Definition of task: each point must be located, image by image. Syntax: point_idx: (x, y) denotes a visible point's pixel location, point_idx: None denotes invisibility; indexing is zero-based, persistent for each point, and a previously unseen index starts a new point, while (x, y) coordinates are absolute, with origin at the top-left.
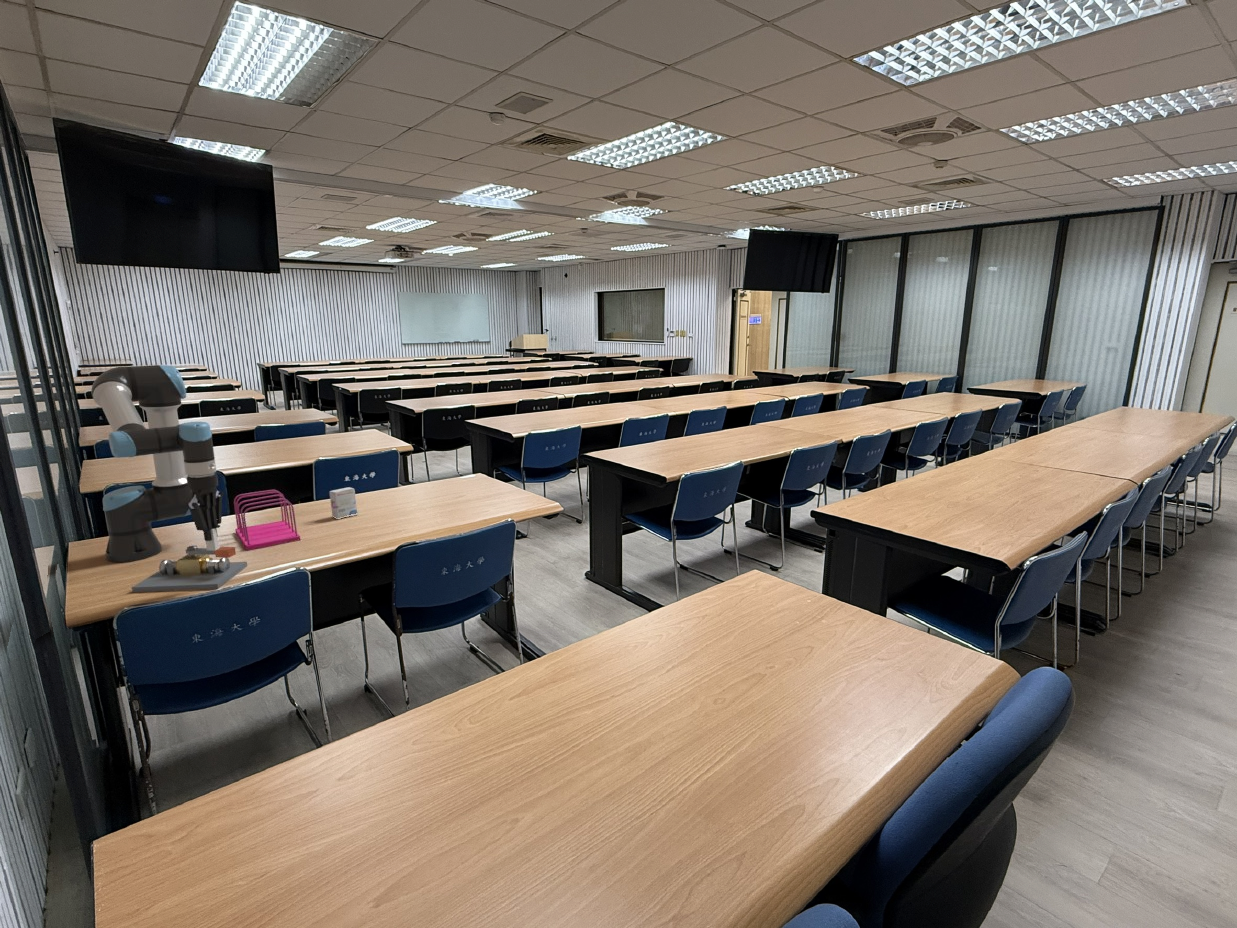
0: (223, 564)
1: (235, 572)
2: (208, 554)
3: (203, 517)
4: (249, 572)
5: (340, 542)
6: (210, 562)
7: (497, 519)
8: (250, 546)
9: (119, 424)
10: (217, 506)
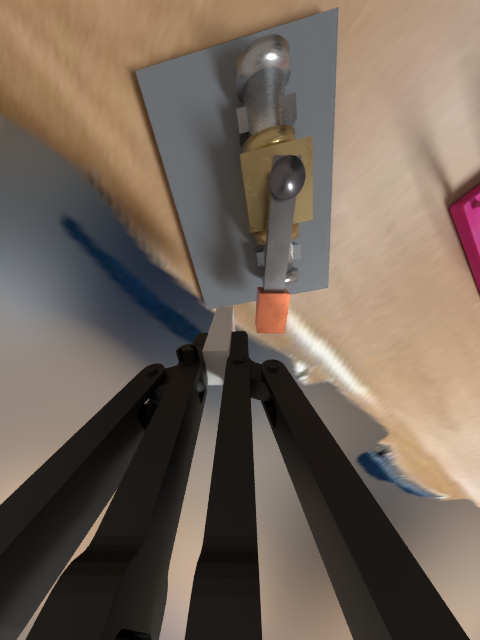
0: None
1: None
2: (264, 261)
3: (117, 483)
4: None
5: (425, 377)
6: None
7: (449, 490)
8: (461, 214)
9: None
10: (313, 524)
